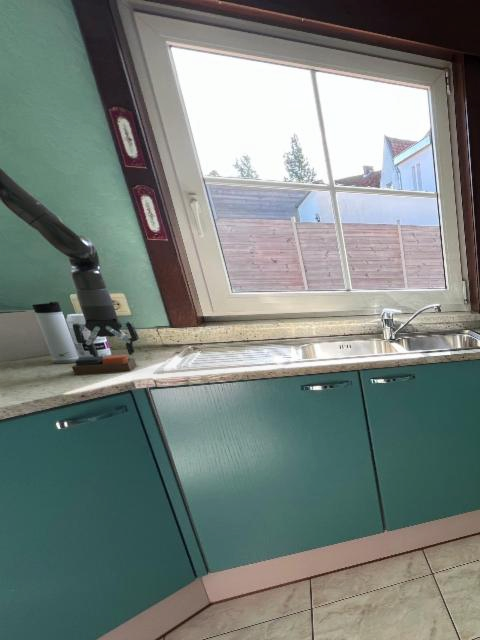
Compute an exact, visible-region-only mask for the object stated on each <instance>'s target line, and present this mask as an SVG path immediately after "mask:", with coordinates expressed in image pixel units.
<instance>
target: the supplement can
mask: <svg viewBox="0 0 480 640" xmlns="http://www.w3.org/2000/svg"><path fill="white" fill-rule="evenodd" d="M65 321H66V324H67V326H68V329H69V332H70V334H71V337H72V340H73V343H74V345H75V348H76V351H77V353H78V357H79V358H81V357H94V356H93V355H91V354H90V353H89V350H88V347H87V345H86V344H82V343H78V342H77V340H76V336H75V333H74V329H73V324H76V323H79V324H85V323H86V321H85V318H84V315H83V313H69V314H66V318H65ZM82 332H83V336H84V339H86V340H87V339H88V338H89V336H90V334H91V333H92V332H91V331H90V330H88V329H87V328H86V327H85V328H84V330H83V331H82ZM93 344H95V347H96V350H97V353H98V356H102V357H103V358H104V357H106V356H112V352H111V349H110V346H109V343H108V339H107V336H106V337H99V336H97V338H96V339H95V341H94V342H93Z"/></svg>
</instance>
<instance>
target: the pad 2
mask: <svg viewBox="0 0 480 640" xmlns="http://www.w3.org/2000/svg"><path fill="white" fill-rule="evenodd" d="M128 358H129V357H128V355H127V354H117V355H116V354H115V355H110V356H106V357H104V358H103V359H102V362H103V364H117V363H126V362H127V361H128Z"/></svg>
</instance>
